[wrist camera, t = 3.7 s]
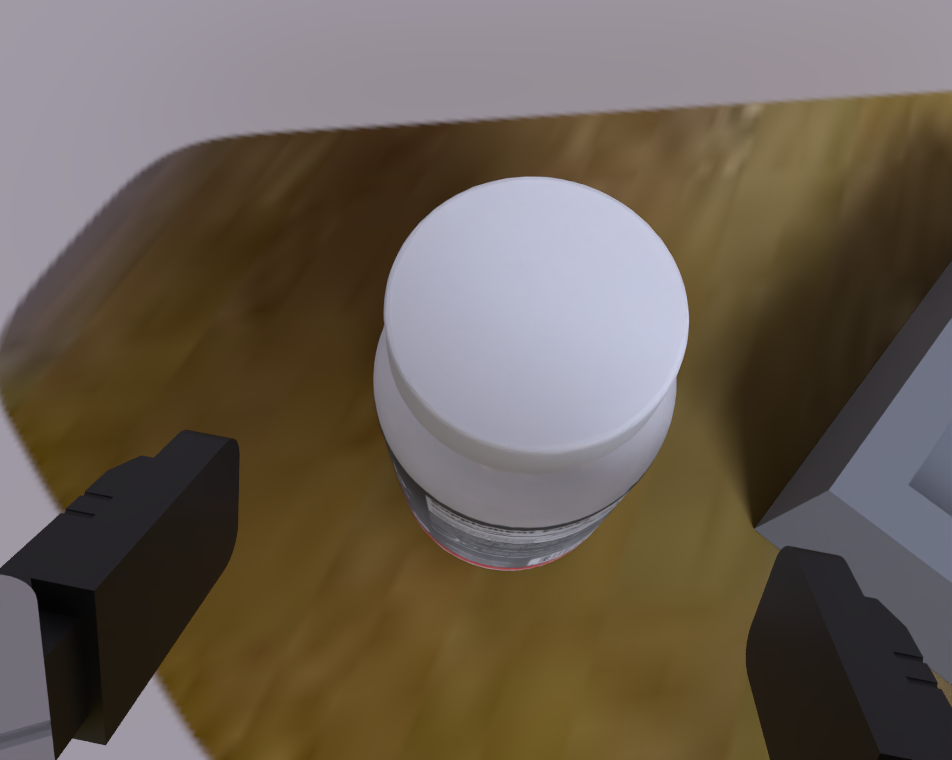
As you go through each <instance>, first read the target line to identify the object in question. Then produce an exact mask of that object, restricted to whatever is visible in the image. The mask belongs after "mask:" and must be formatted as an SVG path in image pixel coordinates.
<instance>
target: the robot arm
mask: <svg viewBox="0 0 952 760" xmlns="http://www.w3.org/2000/svg"><path fill="white" fill-rule="evenodd" d="M238 500H239V446H238V443H237V441H236V440H235V439H232V438H227V437H221V436H216V435H211V434H206V433H200V432H195V431H190V430H184V431H181V432H180V433H179V434H178V435H177V436H176V437H175V438H174V439H173V440H172V441H171V442H170V443H169V444H168V445H167V446H165V447H164V448H163V449H162V450H161V451H160V452H159V453H158V454H157V455H156V456H155V457H154V458H152V457H147V456H139V457H137V458H135V459H132V460H130V461H128V462H126V463H124V464H121V465H119V466H117V467H115V468H113V469H110V470H108V471H107V472H106V473H105V474H104V475H103V476H101V477H100V478H99V479H98V480H97V481H96V482H95V483H94V484H93V485H91V486H90V487H89V488H88V489H87V490H86V491H85V494H84V496H79V497H78V498H77V499H76V500H75V501H74V502H73V503H72V504H70V505H69V506H68V507H67V508H66V511H65V513H64V514H63V513H61V514H59V515H58V516H57V517H56V518H55V519H54V520H53V521H52V522H51V523H50V524H48V526H46V527H45V528H44V529H43V530H42V531H41V532H40V533H38V534H37V535H36V536H35V537H34V538H33V539H32V540H31V541H30V542H29V543H27V544H26V545H25V546H24V547H23V548H22V549H21V550H20V551H19V552H17V553H16V554H15V555H14V556H13V557H12V558H11V559H10V560H9V561H7V562H6V563H5V564H4V565H3V566H2V567H1V568H0V760H57V758H58V757H59V756H60V754H61V753H62V752H63V750H64V749H65V748H66V746H67V745H68V743H69V742H70V741H71V739H72V738H74V739H78V740H83V741H88V742H93V743H97V744H102V745H106V744H107V742H108V741H109V740H110V738H111V737H112V735H113V734H114V732H115V731H116V729H117V728H118V726H119V725H120V723H121V722H122V721H123V719H124V718H125V716H126V715H127V713H128V712H129V710H130V709H131V707H132V705H133V704H134V703H135V701H136V700H137V698H138V697H139V695H140V694H141V692H142V691H143V689H144V688H145V686H146V685H147V683H148V682H149V680H150V679H151V678H152V676H153V675H154V673H155V672H156V670H157V669H158V667H159V666H160V664H161V663H162V661H163V660H164V658H165V657H166V655H167V654H168V652H169V651H170V649H171V648H172V646H173V645H174V644H175V642H176V641H177V639H178V638H179V636H180V635H181V633H182V632H183V630H184V629H185V627H186V626H187V624H188V623H189V621H190V620H191V618H192V617H193V615H194V614H195V612H196V611H197V609H198V608H199V607H200V605H201V604H202V602H203V601H204V599H205V598H206V596H207V595H208V593H209V592H210V590H211V589H212V587H213V586H214V584H215V583H216V581H217V580H218V578H219V577H220V575H221V574H222V572H223V571H224V569H225V568H226V566H227V564H228V562H229V560H230V558H231V555H232V552H233V549H234V546H235V542H236V537H237V530H238ZM923 658H924V657H923V656H922V654H921V652H920V650H919V648H918V647H917V645H916V643H915V641H914V640H913V638H912V636H911V634H910V632H909V631H908V629H907V627H906V626H905V625H904V624H903V623H902V622H901V621H900V620H899V619H897V618H896V617H895V616H894V615H893V614H892V613H891V612H890V611H889V610H888V609H887V608H886V607H885V606H884V605H883V604H882V603H881V602H880V601H879V600H878V599H876V598H871V597H866V596H864V595H863V593H862V591H861V589H860V587H859V585H858V583H857V581H856V579H855V577H854V575H853V574H852V572H851V570H850V568H849V566H848V564H847V562H846V560H845V559H844V558H843V557H842V556H840V555H835V554H829V553H824V552H819V551H814V550H808V549H803V548H798V547H792V546H785V547H783V548H782V549H781V551H780V552H779V554H778V555H777V558H776V560H775V563H774V565H773V568H772V571H771V573H770V576H769V579H768V581H767V584H766V587H765V590H764V592H763V595H762V598H761V600H760V603H759V606H758V608H757V611H756V614H755V616H754V619H753V622H752V625H751V627H750V630H749V634H748V639H747V646H746V668H747V674H748V678H749V682H750V686H751V690H752V693H753V697H754V701H755V705H756V708H757V712H758V716H759V720H760V723H761V727H762V731H763V735H764V738H765V742H766V746H767V750H768V754H769V757H770V760H952V707H951V706H950V704H949V702H948V700H947V698H946V697H945V695H944V693H943V691H942V689H938V688H937V683H938V682H937V681H936V679H935V677H934V675H933V673H932V672H931V670H930V668H929V666H928V665H927V663H923Z"/></svg>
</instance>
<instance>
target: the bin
mask: <svg viewBox="0 0 952 760" xmlns="http://www.w3.org/2000/svg"><path fill="white" fill-rule="evenodd" d="M754 529H755V530H756V531H757V532H758V533H760V534H761V535H762V536H764V537H765V538H766V539H767V540H769V541H770V542H771V543H772V544H774V545H775V546H776V547H777V548H779V549H780V550H781V549H782V548H783V547H785V546H792V547H798V548H803V549H808V550H814V551H819V552H824V553H829V554H835V555H840V556H842V557H843V558H844V559H845V560H846V562H847V564H848V566H849V568H850V570H851V572H852V574H853V575H854V577H855V579H856V581H857V583H858V585H859V587H860V589H861V591H862V593H863V595H864V596H866V597H871V598H876V599H878V600H879V601H880V602H881V603H882V604H883V605H884V606H885V607H886V608H887V609H888V610H889V611H890V612H891V613H892V614H893V615H894V616H895V617H896V618H897V619H899V620H900V621H901V622H902V623H903V624H904V625H905V626H906V627H907V629H908V631H909V632H910V634H911V636H912V638H913V640H914V641H915V643H916V645H917V647H918V648H919V650H920V652H921V654H922V656H923V657H924V658H923V663H927V665H928V666H929V667H930V668H931V669H932V670H934V671H935V672H936V673H937V674H939V675H940V676H941V677H942V678H944V679H945V680H946V681H948V682H949V683H950V684H951V685H952V261H951V262H950V263H949V265H948V266H947V267H946V269H945V270H944V271H943V273H942V274H941V276H940V277H939V278H938V280H937V281H936V282H935V284H934V285H933V286H932V288H931V289H930V290H929V292H928V293H927V295H926V296H925V297H924V299H923V300H922V301H921V303H920V304H919V305H918V307H917V308H916V310H915V311H914V312H913V314H912V315H911V316H910V318H909V319H908V320H907V322H906V323H905V324H904V326H903V327H902V329H901V330H900V331H899V333H898V334H897V335H896V337H895V338H894V339H893V341H892V342H891V344H890V345H889V346H888V348H887V349H886V350H885V352H884V353H883V354H882V356H881V357H880V358H879V360H878V361H877V363H876V364H875V365H874V367H873V368H872V369H871V371H870V372H869V373H868V375H867V376H866V377H865V379H864V380H863V382H862V383H861V384H860V386H859V387H858V388H857V390H856V391H855V392H854V394H853V395H852V397H851V398H850V399H849V401H848V402H847V403H846V405H845V406H844V407H843V409H842V410H841V411H840V413H839V414H838V416H837V417H836V418H835V420H834V421H833V422H832V424H831V425H830V426H829V428H828V429H827V431H826V432H825V433H824V435H823V436H822V437H821V439H820V440H819V441H818V443H817V444H816V445H815V447H814V448H813V450H812V451H811V452H810V454H809V455H808V456H807V458H806V459H805V460H804V462H803V463H802V465H801V466H800V467H799V469H798V470H797V471H796V473H795V474H794V475H793V477H792V478H791V479H790V481H789V482H788V484H787V485H786V486H785V488H784V489H783V490H782V492H781V493H780V494H779V496H778V497H777V498H776V500H775V501H774V503H773V504H772V505H771V507H770V508H769V509H768V511H767V512H766V513H765V515H764V516H763V518H762V519H761V520H760V522H759V523H758V524H757V526H756V527H755V528H754Z"/></svg>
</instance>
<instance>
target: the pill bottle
mask: <svg viewBox="0 0 952 760" xmlns="http://www.w3.org/2000/svg"><path fill="white" fill-rule="evenodd" d="M688 328H689V313H688V302H687V296H686V291H685V287H684V284H683V281H682V278H681V275H680V272H679V270H678V268H677V266H676V263H675V261H674V259H673V257H672V255H671V254H670V252H669V250H668V249H667V247H666V246H665V244H664V243H663V241H662V240H661V238H660V237H659V236H658V235H657V234H656V233H655V232H654V231H653V229H652V228H651V227H650V226H649V225H648V224H647V223H646V222H645V221H644V220H643V219H641V218H640V217H639V216H638V215H637V214H636V213H634V212H633V211H632V210H631V209H630V208H628V207H627V206H625V205H624V204H622V203H621V202H619V201H617V200H616V199H614V198H612V197H610V196H609V195H607V194H605V193H602V192H600V191H598V190H596V189H593V188H591V187H588V186H585V185H582V184H579V183H576V182H570V181H567V180H564V179H557V178H550V177H515V178H506V179H502V180H497V181H492V182H488V183H485V184H481V185H478V186H474V187H472V188H470V189H468V190H466V191H464V192H461V193H459V194H457V195H456V196H454V197H452V198H451V199H449V200H447V201H445V202H444V203H443V204H441V205H440V206H438V207H437V208H435V209H434V210H433V211H432V212H431V213H430V214H429V215H427V216H426V217H425V218H424V219H423V220H422V221H421V222H420V223H419V224H418V225H417V226H416V228H415V229H414V230H413V231H412V233H411V234H410V235H409V236H408V238H407V239H406V241H405V242H404V243H403V245H402V247H401V249H400V251H399V253H398V254H397V257H396V259H395V261H394V263H393V265H392V268H391V271H390V274H389V277H388V280H387V286H386V291H385V298H384V328H383V331H382V334H381V336H380V339H379V343H378V346H377V351H376V356H375V362H374V376H373V383H374V397H375V404H376V409H377V414H378V419H379V423H380V426H381V430H382V433H383V435H384V438H385V441H386V444H387V447H388V449H389V452H390V455H391V458H392V461H393V464H394V467H395V470H396V473H397V476H398V479H399V483H400V485H401V488H402V491H403V494H404V496H405V499H406V502H407V504H408V506H409V508H410V510H411V512H412V514H413V515H414V517H415V518H416V520H417V521H418V523H419V524H420V526H421V527H422V528H423V529H424V531H425V532H426V533H427V534H428V535H429V536H430V537H431V538H432V539H433V540H434V541H435V542H436V543H437V544H438V545H439V546H441V547H442V548H443V549H445V550H446V551H447V552H449V553H451V554H452V555H454V556H456V557H457V558H459V559H462V560H464V561H466V562H468V563H471V564H473V565H477V566H481V567H484V568H489V569H495V570H523V569H529V568H534V567H538V566H542V565H545V564H547V563H550V562H552V561H554V560H556V559H558V558H561V557H562V556H564V555H566V554H567V553H569V552H570V551H572V550H574V549H575V548H576V547H577V546H579V545H580V544H581V543H582V542H583V541H584V540H586V539H587V538H588V537H589V536H590V535H591V534H592V533H593V532H594V530H595V529H596V528H597V527H598V526H599V525H600V523H601V522H602V521H603V520H604V519H605V518H606V517H607V515H608V514H609V513H610V512H611V511H612V510H613V509H614V508H615V507H616V505H617V504H618V503H619V502H620V501H621V500H622V499H623V498H624V497H625V495H626V494H627V493H628V492H629V491H630V490H631V489H632V488H633V487H634V486H635V485H636V484H637V482H638V481H639V480H640V479H641V478H642V476H643V475H644V474H645V472H646V471H647V470H648V468H649V467H650V466H651V464H652V462H653V460H654V458H655V457H656V455H657V453H658V451H659V449H660V448H661V446H662V444H663V441H664V439H665V437H666V435H667V432H668V429H669V426H670V423H671V419H672V416H673V411H674V405H675V398H676V376H677V373H678V371H679V368H680V366H681V363H682V360H683V357H684V353H685V349H686V345H687V339H688Z"/></svg>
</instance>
